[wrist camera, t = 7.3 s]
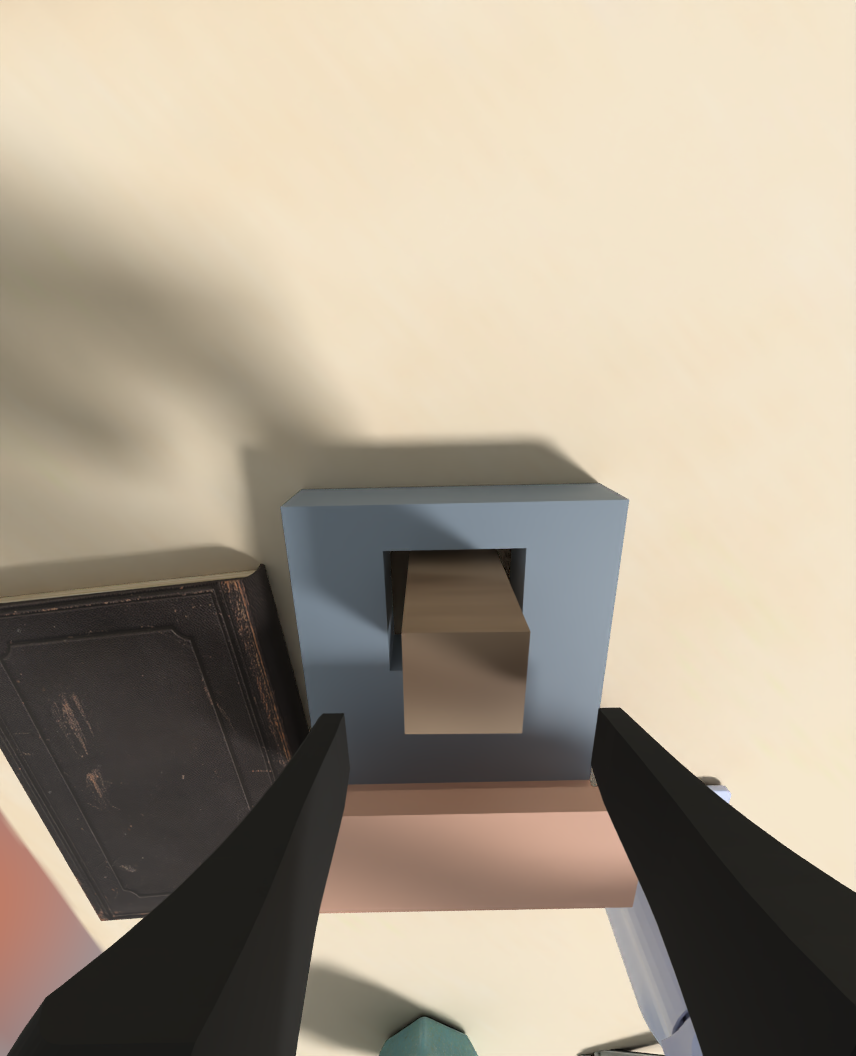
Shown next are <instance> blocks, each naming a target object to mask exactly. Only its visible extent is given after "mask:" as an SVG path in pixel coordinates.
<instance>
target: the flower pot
mask: <svg viewBox="0 0 856 1056" xmlns="http://www.w3.org/2000/svg"><path fill="white" fill-rule="evenodd" d="M379 1056H478V1055H477V1053H476V1051H475V1049H474V1047H473V1045H472V1043H471V1042H470V1040H469V1038H468V1036H467V1035H465V1034H463V1033H461V1032H459V1031H457V1030H454V1029H452V1028H450V1027H448V1026H445V1025H443V1024H441V1023H439V1022H437V1021H435V1020H433V1019H431V1018H428V1017H421V1018H419V1019H418V1020H416V1021H415V1022H413V1023H412V1024H410V1025H409V1026H407V1027H406V1028H404V1029H403V1030H401V1031H400V1032H398V1033H397V1034H396V1035H394V1036H392V1037H391V1038H389V1039H388V1040H387V1041H386V1042H385V1044H384V1046H383V1048H382V1050H381V1052H380V1054H379Z"/></svg>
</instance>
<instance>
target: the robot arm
mask: <svg viewBox="0 0 856 1056" xmlns="http://www.w3.org/2000/svg"><path fill="white" fill-rule="evenodd" d="M591 766H592V769H593V772H594V775H595V779H596V782H597V785H598V788H599V791H600V794H601V797H602V800H603V803H604V805H605V807H606V810H607V812H608V814H609V816H610V819H611V821H612V823H613V825H614V828H615V830H616V832H617V834H618V837H619V839H620V841H621V843H622V845H623V848H624V850H625V852H626V854H627V857H628V859H629V861H630V863H631V865H632V868H633V870H634V872H635V874H636V876H637V879H638V884H637V888H636V893H635V898H634V902H633V907H623V908H605V910H606V913H607V915H608V918H609V921H610V924H611V927H612V930H613V933H614V936H615V939H616V942H617V945H618V947H619V950H620V953H621V956H622V959H623V962H624V965H625V968H626V971H627V974H628V977H629V979H630V982H631V985H632V988H633V991H634V994H635V997H636V1000H637V1003H638V1006H639V1008H640V1011H641V1013H642V1015H643V1018H644V1020H645V1022H646V1024H647V1025H648V1027H649V1029H650V1031H651V1032H652V1034H653V1035H654V1037H655V1038H656V1040H657V1041H658V1043H659V1044H660V1045H661V1046H662V1048H663V1051H664V1054H665V1056H856V892H854V891H852V890H851V889H849V888H848V887H846V886H844V885H843V884H841V883H840V882H838V881H837V880H835V879H834V878H832V877H830V876H829V875H827V874H826V873H824V872H823V871H821V870H820V869H818V868H817V867H815V866H814V865H812V864H811V863H809V862H808V861H806V860H805V859H803V858H802V857H800V856H799V855H797V854H796V853H794V852H793V851H792V850H790V849H789V848H787V847H786V846H784V845H783V844H782V843H780V842H779V841H777V840H776V839H775V838H773V837H772V836H771V835H769V834H768V833H767V832H765V831H764V830H762V829H761V828H760V827H758V826H757V825H756V824H754V823H753V822H752V821H750V820H749V819H748V818H746V817H745V816H744V815H742V814H741V813H740V812H738V811H737V810H736V809H735V808H733V807H732V806H731V805H730V804H729V801H730V797H731V793H730V791H729V790H728V789H727V787H725V786H722V785H709V786H706V785H705V784H704V783H703V782H702V781H700V780H699V779H698V778H697V777H696V776H695V775H693V774H692V773H691V772H690V771H689V770H688V769H687V768H685V767H684V766H683V765H682V764H681V763H680V762H679V761H677V760H676V759H675V758H674V757H673V756H672V755H671V754H670V753H669V752H667V751H666V750H665V749H664V748H663V747H662V746H661V745H660V744H659V743H658V742H657V741H656V740H654V739H653V738H652V737H651V736H650V735H649V734H648V733H647V732H646V731H645V730H644V729H643V728H642V727H641V726H639V725H638V724H637V723H636V722H635V721H634V720H633V719H632V718H631V717H630V716H629V715H628V714H627V713H625V712H624V711H623V710H622V709H621V708H598V715H597V723H596V730H595V737H594V744H593V751H592V758H591ZM349 773H350V763H349V753H348V744H347V734H346V725H345V716H344V713H323V714H322V715H321V716H320V717H319V718H318V720H317V721H316V723H315V724H314V726H313V727H312V729H311V730H310V732H309V733H308V735H307V736H306V738H305V739H304V741H303V742H302V744H301V745H300V747H299V748H298V750H297V751H296V752H295V754H294V755H293V757H292V758H291V759H290V761H289V762H288V763H287V765H286V766H285V768H284V769H283V770H282V772H281V773H280V774H279V776H278V777H277V778H276V780H275V781H274V782H273V784H272V785H271V786H270V787H269V789H268V790H267V791H266V792H265V793H264V795H263V796H262V797H261V798H260V800H259V801H258V802H257V803H256V805H255V806H254V807H253V808H252V809H251V811H250V812H249V813H248V814H247V815H246V817H245V818H244V819H243V820H242V821H241V822H240V823H239V825H238V826H237V827H236V828H235V829H234V830H233V831H232V832H231V834H230V835H229V836H228V837H227V838H226V839H225V840H224V841H223V842H222V843H221V844H220V845H219V846H218V848H217V849H216V850H215V851H214V852H213V853H212V854H211V855H210V856H209V857H208V858H207V859H206V860H205V861H204V862H203V863H202V864H201V865H200V866H199V867H198V868H197V869H196V870H195V871H194V872H193V873H192V874H191V875H190V876H189V877H188V878H187V879H186V880H185V881H184V882H183V883H182V884H181V885H180V886H178V887H177V888H176V889H175V890H174V891H173V892H172V893H171V894H170V895H169V896H168V897H167V898H166V899H164V900H163V901H162V902H161V903H160V904H159V905H158V906H157V907H155V908H154V909H153V910H152V911H151V912H150V913H149V914H148V915H146V916H145V917H144V918H143V919H142V920H141V921H140V922H139V923H137V924H136V925H135V926H134V927H133V928H132V929H131V930H130V931H128V932H127V933H126V934H125V935H124V936H123V937H121V938H120V939H119V940H118V941H117V942H115V943H114V944H113V945H112V946H111V947H109V948H108V949H107V950H106V951H104V952H103V953H102V954H101V955H100V956H98V957H97V958H96V959H94V960H93V961H92V962H91V963H89V964H88V965H87V966H86V967H84V968H83V969H82V970H80V971H79V972H78V973H77V974H75V975H74V976H73V977H72V978H71V979H69V980H68V981H67V982H65V983H64V984H63V985H62V986H60V987H59V988H58V989H56V990H55V991H54V992H52V993H51V994H50V995H49V996H47V997H46V998H45V1000H44V1001H43V1002H42V1004H41V1005H40V1007H39V1008H38V1010H37V1011H36V1013H35V1014H34V1016H33V1017H32V1018H31V1020H30V1021H29V1023H28V1024H27V1025H26V1027H25V1028H24V1030H23V1031H22V1033H21V1034H20V1036H19V1037H18V1039H17V1041H16V1042H15V1044H14V1045H13V1047H12V1049H11V1050H10V1052H9V1053H8V1055H7V1056H296V1049H297V1042H298V1036H299V1030H300V1023H301V1017H302V1010H303V1004H304V998H305V991H306V985H307V979H308V973H309V967H310V961H311V955H312V949H313V943H314V937H315V931H316V926H317V921H318V916H319V911H320V907H321V902H322V898H323V894H324V890H325V886H326V882H327V878H328V874H329V870H330V866H331V862H332V858H333V854H334V850H335V845H336V841H337V837H338V833H339V829H340V825H341V821H342V817H343V812H344V808H345V801H346V794H347V787H348V780H349Z"/></svg>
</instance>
